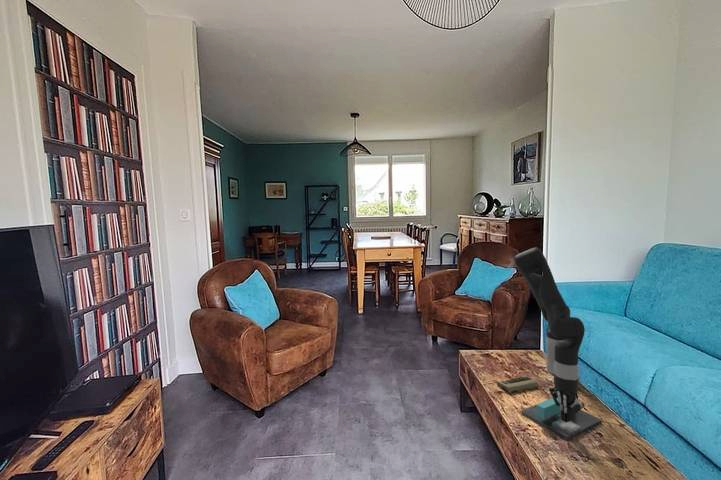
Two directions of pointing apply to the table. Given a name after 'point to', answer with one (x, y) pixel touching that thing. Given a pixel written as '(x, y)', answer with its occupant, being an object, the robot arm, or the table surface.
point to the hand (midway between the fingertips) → (565, 421)
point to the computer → (517, 384)
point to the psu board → (565, 430)
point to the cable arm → (547, 408)
